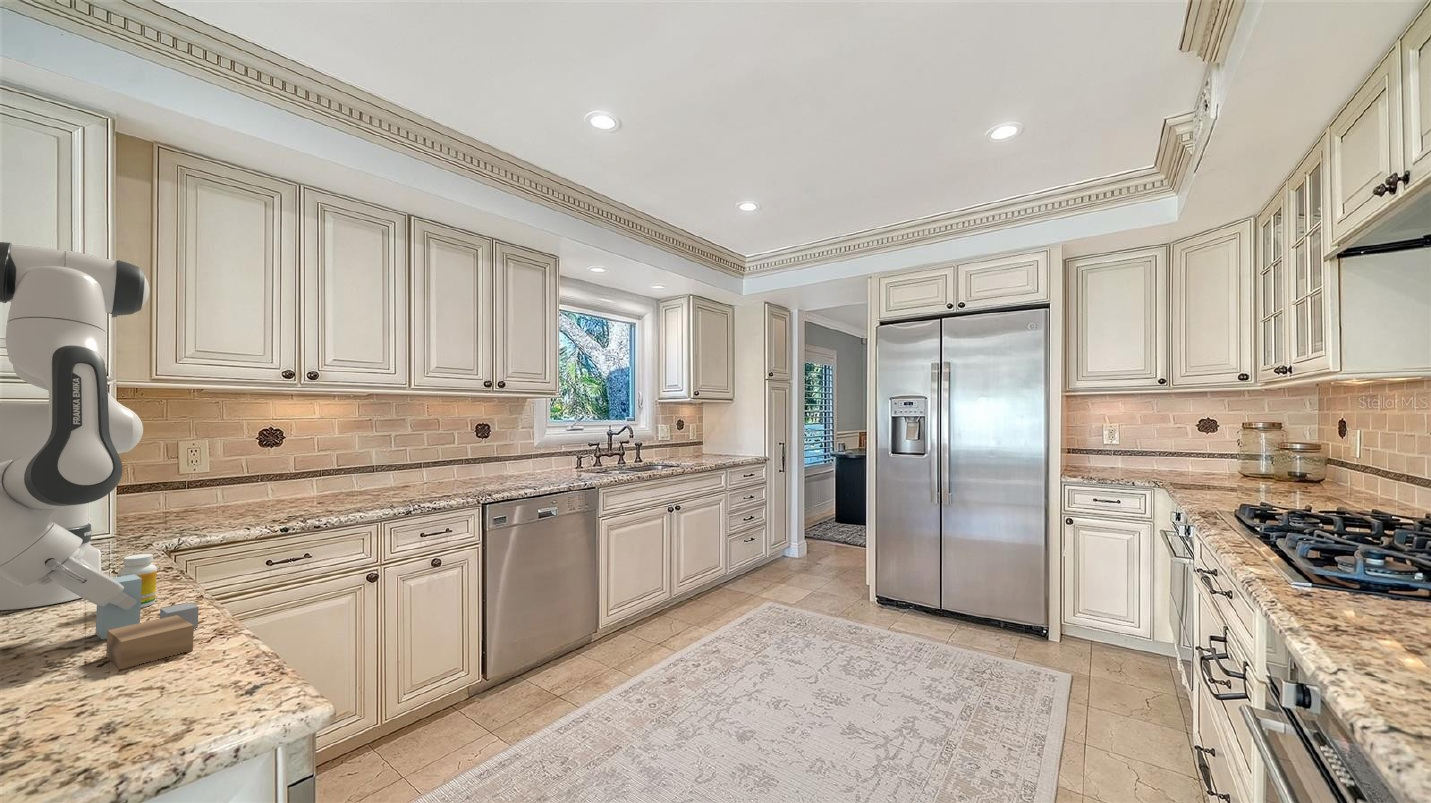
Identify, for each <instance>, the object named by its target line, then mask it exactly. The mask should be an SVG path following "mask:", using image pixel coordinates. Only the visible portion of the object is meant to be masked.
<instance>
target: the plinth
mask: <svg viewBox="0 0 1431 803" xmlns="http://www.w3.org/2000/svg"><path fill="white" fill-rule="evenodd" d="M194 632H195V630H194V625H193V624H191V623H189V622H188V621H186V620H184V619H183V618H181V617H179V616H178V615H176V616H171V617H167V618H162V619H160V618H158V619H152V620H148V621H144V622H140V623H138V624H134V625H129V626H124V627H120V628H115V629H110V630H107V639H106V652H105V654H106V655H105V657H106V658H107V659H108V660H109V661H110V662H112V664H113V665H115V666H116V667H117V668H118V669H119V670H124V669H127V668H132V667H134V666H135V667H136V666H139V664H140V665H143V664H142V663H144V664H146V662H148V661H151V662H154V661H159V660H162V659H161V658H163V659H166V658H165V657H167V658H170V657H169V656H171V657H174V656H173V655H175V656H178V655H177V654H179V655H181V654H180V653H182V654H184V653H183V652H186V653H190V652H193V651H194ZM158 659H159V660H158ZM148 663H149V662H148Z"/></svg>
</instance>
